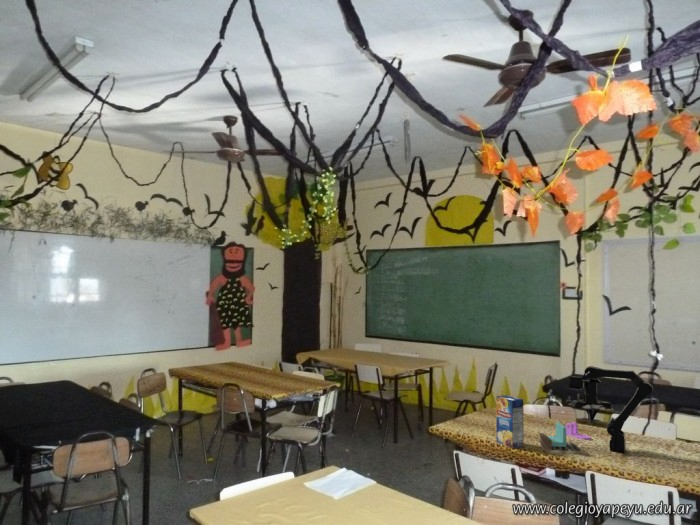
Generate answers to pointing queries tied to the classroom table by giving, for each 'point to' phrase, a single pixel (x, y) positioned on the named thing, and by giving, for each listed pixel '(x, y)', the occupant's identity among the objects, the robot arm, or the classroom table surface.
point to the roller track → (547, 446)
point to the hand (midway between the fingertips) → (591, 421)
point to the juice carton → (510, 421)
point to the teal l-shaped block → (559, 436)
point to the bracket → (575, 431)
